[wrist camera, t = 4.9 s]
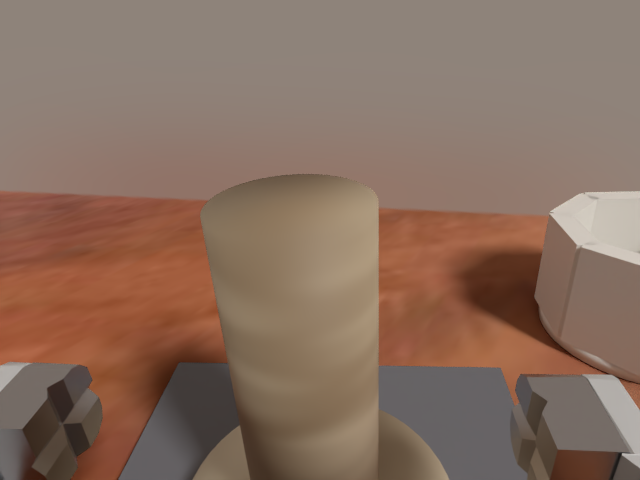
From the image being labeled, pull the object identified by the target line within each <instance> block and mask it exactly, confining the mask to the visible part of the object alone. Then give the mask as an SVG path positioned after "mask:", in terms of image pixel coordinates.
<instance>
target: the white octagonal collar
mask: <svg viewBox="0 0 640 480" xmlns="http://www.w3.org/2000/svg"><path fill="white" fill-rule="evenodd" d="M534 298H535V300H536V301H537V303H538V305H539V317H540V320H541V323H542V325H543V327H544V328H545V330H546V331H547V333H548V334H549V335H550V336H551V337H552V338H553V340H554V341H556V342H557V343H558V344H559V345H560V346H561V347H562V348H564V349H565V350H566V351H568V352H569V353H570V354H572V355H573V356H575V357H577V358H578V359H580V360H581V361H583V362H585V363H587V364H589V365H591V366H593V367H595V368H597V369H599V370H601V371H604V372H606V373H608V374H611V375H614V376H616V377H619V378H622V379H625V380H629V381H632V382H635V383H639V384H640V191H636V192H589V193H584V194H581V193H580V194H578V195H577V196H575V197H573V198H572V199H570V200H568V201H567V202H565V203H563V204H562V205H560V206H558V207H557V208H555V209H553V210H552V211H550V213H549V218H548V224H547V229H546V235H545V240H544V246H543V251H542V257H541V262H540V268H539V273H538V279H537V285H536V290H535V296H534Z"/></svg>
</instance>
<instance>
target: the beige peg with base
mask: <svg viewBox="0 0 640 480" xmlns="http://www.w3.org/2000/svg"><path fill="white" fill-rule="evenodd" d="M200 216H201V223H202V228H203V234H204V239H205V244H206V250H207V255H208V260H209V265H210V271H211V276H212V281H213V286H214V292H215V297H216V302H217V307H218V313H219V318H220V323H221V328H222V334H223V339H224V344H225V349H226V355H227V360H228V365H229V370H230V376H231V381H232V386H233V392H234V397H235V402H236V407H237V413H238V418H239V423H240V425H239V426H238V427H236V428H235V429H234V430H232V431H231V432H230V433H229V434H228V435H227V436H226V437H224V438H223V439H222V440H221V441H220V442H219V443H218V444H217V445H216V447H215V448H214V449H213V450H212V451H211V452H210V453H209V455H208V456H207V457H206V459H205V460H204V461H203V463H202V464H201V466H200V467H199V469H198V471H197V473H196V474H195V476H194V478H193V480H449V478H448V475H447V473H446V472H445V470H444V468H443V466H442V464H441V462H440V461H439V459H438V458H437V456H436V455H435V454H434V452H433V451H432V449H431V448H430V447H429V446H428V445H427V444H426V442H425V441H424V440H423V439H422V438H421V437H420V436H419V435H418V434H417V433H415V432H414V431H413V430H412V429H411V428H410V427H409V426H407V425H406V424H404V423H403V422H401V421H400V420H398V419H397V418H395V417H394V416H392V415H390V414H388V413H386V412H384V411H382V410H380V409H379V304H378V197H377V195H376V194H375V193H374V191H372V189H370V188H369V187H367V186H366V185H364V184H362V183H359V182H357V181H353V180H350V179H347V178H342V177H337V176H330V175H319V174H296V175H282V176H275V177H268V178H262V179H258V180H253V181H250V182H246V183H243V184H240V185H237V186H234V187H231V188H229V189H227V190H225V191H223V192H221V193H219V194H217V195H216V196H214V197H213V198H211V199H210V200H209V201H208V202H207V203H206V204H205V205H204V207H203V208H202V210H201V214H200Z"/></svg>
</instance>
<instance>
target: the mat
mask: <svg viewBox="0 0 640 480" xmlns="http://www.w3.org/2000/svg"><path fill="white" fill-rule="evenodd" d="M514 407H515V406H514V403H513V400H512V398H511V395H510V392H509V390H508V387H507V384H506V382H505V379H504V376H503V373H502V371H501V368H483V367H423V366H379V409H380V410H382V411H384V412H386V413H388V414H390V415H392V416H394V417H395V418H397V419H398V420H400V421H401V422H403V423H404V424H406V425H407V426H409V427H410V428H411V429H412V430H413V431H414V432H415V433H417V434H418V435H419V436H420V437H421V438H422V439H423V440H424V441H425V442H426V444H427V445H428V446H429V447H430V448H431V449H432V451H433V452H434V454H435V455H436V456H437V458H438V459H439V461H440V462H441V464H442V466H443V468H444V470H445V472H446V473H447V475H448V478H449V480H527V476H528V474H527V473H526V472H525V471H524V470H523V469H522V468H521V467H520V466H519V465H518V464H517V462H516V459H515V456H514V452H513V448H512V443H511V437H510V418H511V411H512V408H514ZM239 425H240V423H239V418H238V413H237V407H236V402H235V397H234V392H233V386H232V381H231V376H230V370H229V365H228V363H181V362H179V364H178V366H177V367H176V369H175V371H174V373H173V375H172V377H171V379H170V381H169V383H168V385H167V387H166V389H165V391H164V393H163V394H162V396H161V398H160V400H159V402H158V404H157V406H156V408H155V410H154V412H153V414H152V416H151V418H150V420H149V421H148V423H147V425H146V427H145V429H144V431H143V433H142V435H141V437H140V439H139V441H138V443H137V445H136V447H135V448H134V450H133V452H132V454H131V456H130V458H129V460H128V462H127V464H126V466H125V468H124V470H123V472H122V473H121V475H120V477H119V479H118V480H193V478H194V476H195V474H196V473H197V471H198V469H199V467H200V466H201V464H202V463H203V461H204V460H205V459H206V457H207V456H208V455H209V453H210V452H211V451H212V450H213V449H214V448H215V447H216V445H217V444H218V443H219V442H220V441H221V440H222V439H223V438H224V437H226V436H227V435H228V434H229V433H230V432H231V431H232V430H234V429H235V428H236V427H238V426H239Z"/></svg>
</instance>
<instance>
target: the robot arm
mask: <svg viewBox="0 0 640 480" xmlns="http://www.w3.org/2000/svg"><path fill="white" fill-rule="evenodd" d="M91 382H92V378H91V376H90V373H89V371H88V369H87V367H85V366H82V365H74V364H52V363H19V362H9V363H6V364H4V365H1V366H0V480H70V479H71V477H72V476H73V474H74V473H75V471H76V470H77V468H78V466H77V456H78V455H80V454H81V453H83V452H84V451H85V450H87V449H88V448H90V447H91V445H92V444H93V442H94V440H95V438H96V437H97V435H98V433H99V429H100V426H101V422H102V405H101V402H100V399H99V397H98V396H97V395H96V394H94V393H93V392H92V391H91V390H90V389H88V388H89V386H90V384H91ZM515 391H516V394H517V397H518V399H519V402H520V403H518V404H517V405H516V406H515V407H514V408H512V411H511V418H510V437H511V443H512V448H513V452H514V456H515V459H516V462H517V464H518V465H519V466H520V467H521V468H522V469H523V470H524V471H525V472H526V473H527V474H528V476H527V480H640V410H639V409H638V407H637V406H636V404H635V403H634V401H633V400H632V398H631V397H630V395H629V394H628V392H627V391H626V390H625V388H624V387H623V385H622V384H621V382H620V381H619V379H618V378H616V377H615V376H613V375H586V374H581V375H560V374H520V376H519V378H518V380H517V384H516V389H515Z"/></svg>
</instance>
